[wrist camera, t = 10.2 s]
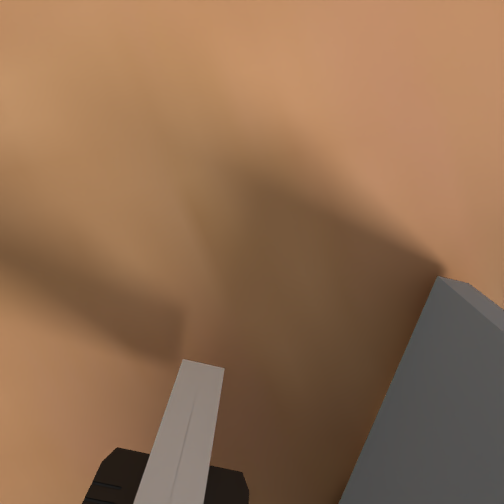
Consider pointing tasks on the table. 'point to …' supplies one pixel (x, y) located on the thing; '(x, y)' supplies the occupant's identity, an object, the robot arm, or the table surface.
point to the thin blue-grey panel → (441, 410)
